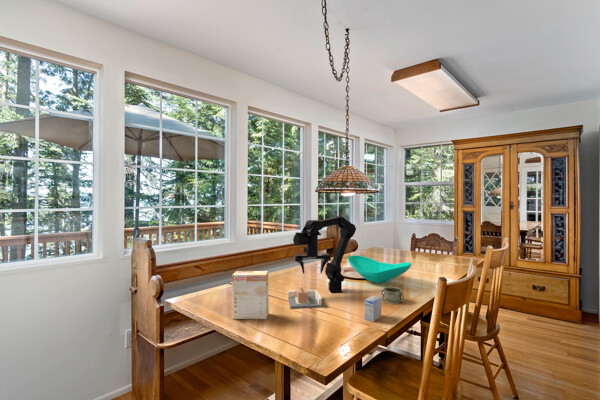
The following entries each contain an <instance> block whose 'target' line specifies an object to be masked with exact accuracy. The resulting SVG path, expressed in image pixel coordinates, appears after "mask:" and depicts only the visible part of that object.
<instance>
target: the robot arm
mask: <svg viewBox="0 0 600 400" xmlns="http://www.w3.org/2000/svg"><path fill="white" fill-rule="evenodd" d="M335 225H337V227H338V228H339V236H340V238H339V241H338V244H337V246H336V249H335V251H334V255H333V258H332V256H331V255H330V254H329V253H321V255H319V245H318V244H319V238H318V237H319V236H322V233H321V230H322V229H324V228H327V227H332V226H335ZM356 230H357V228H356V225H355V223H353V222H351V221H349V220H347V219H346V217H344V216H342V215H341V216H340V215H336V216H334V217H329V218H324V219H319V220H318V219H307V221H306V222H305V224H304V226H303V228H302V229H301V231H300V232H298V231H296V232H295V235H294V236H293V238H292V240H293V241H292V242H293V245H294V246H295V247H299V246H302V253H295V254H294V257H293V259H294V262H297V263H298V264H299V265H300V267H301V270H302V274H303V275H304V274H305V264H304V261H303V260H320V275H321V274H322V273H323V271H324V269H325V271H324V273H325V276H326V278H327V280H328V286H327V287H328V291H329V292H330V293H331V294H335V293H338V294H339V293H343V290H342V285H343V282H344V280H345V276H344V275H343V274H342V261H343V258H344V255H345V253H346V250H347V246H348V243H349V242H350V239H352V237H354V235H355V234H356ZM303 254H305V255H303ZM329 261H330V262H329Z"/></svg>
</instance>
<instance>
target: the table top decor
mask: <svg viewBox="0 0 600 400" xmlns="http://www.w3.org/2000/svg"><path fill="white" fill-rule="evenodd" d="M347 262H348V263H349V265H350V266H351V267H352V268H353V269H354V270H355V271H356V272H357V273H358V274H359V275H360V276H361V277H363V279H365V280H367V281H369V282H371V283H377V284H384V283H387V282H389V281H391V280H394V279H395V278H397V277H400V276H402V275H403V274H405V273H406V272H408V270H409V269H410V268H411V266H412V263H411V262H407V261H405V262H399V263H388V262H382V261H378V260H375V259H373V258H370V257H367V256H364V255H350V256H348V257H347Z"/></svg>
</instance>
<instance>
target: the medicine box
mask: <svg viewBox="0 0 600 400" xmlns="http://www.w3.org/2000/svg"><path fill="white" fill-rule="evenodd" d="M363 303H364V305H363V307H364V313H363V314H364V316H363V318H364V320H366V321H368V322H372V323H375V321H377V320H379V319H380V318H381V317H382V297H380V296H378V295H371V296H369V297H368V298H366V299H364V301H363Z"/></svg>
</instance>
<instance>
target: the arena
mask: <svg viewBox="0 0 600 400" xmlns="http://www.w3.org/2000/svg"><path fill="white" fill-rule="evenodd" d="M306 290H307V292H308V303H298V300H297V290H288V291H287V300H288V304H289V309H290V310H292V309H311V308H315V309H316V308H322V306H323V305H322V300H323V299H322V297H321V295H320V292H318V290H317V289H306Z"/></svg>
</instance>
